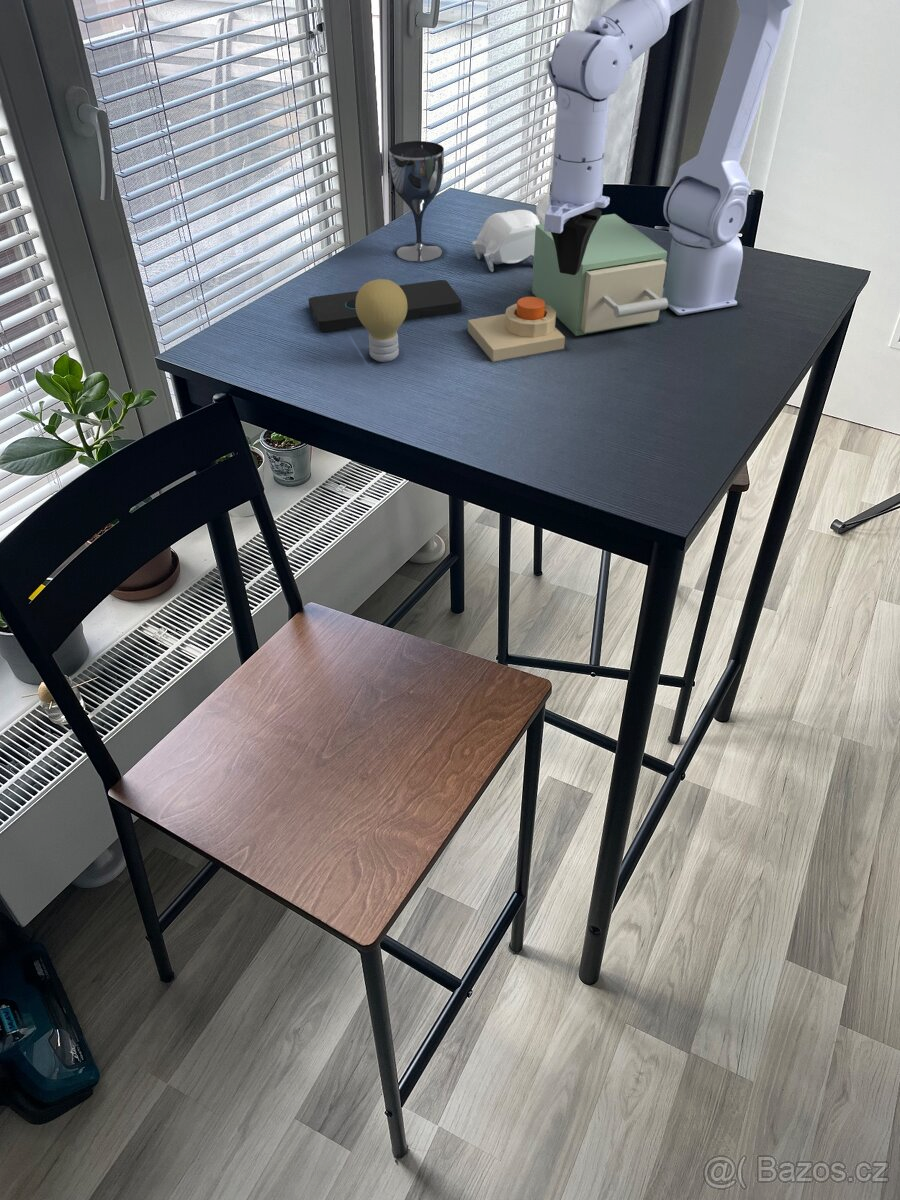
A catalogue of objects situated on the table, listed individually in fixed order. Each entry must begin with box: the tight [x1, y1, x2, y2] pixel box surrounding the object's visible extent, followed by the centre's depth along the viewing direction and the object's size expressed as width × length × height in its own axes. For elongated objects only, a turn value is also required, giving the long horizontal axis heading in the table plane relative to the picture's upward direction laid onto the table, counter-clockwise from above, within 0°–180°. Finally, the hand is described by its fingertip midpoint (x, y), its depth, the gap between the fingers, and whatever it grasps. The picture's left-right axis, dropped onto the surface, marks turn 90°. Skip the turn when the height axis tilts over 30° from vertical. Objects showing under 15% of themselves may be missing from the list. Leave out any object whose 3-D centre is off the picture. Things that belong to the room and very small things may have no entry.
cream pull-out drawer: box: [581, 260, 668, 333], centre depth 122 cm, size 18×11×8 cm, turn 20°
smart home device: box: [308, 279, 462, 333], centre depth 127 cm, size 8×2×20 cm
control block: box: [467, 303, 566, 362], centre depth 120 cm, size 10×9×4 cm
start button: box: [516, 296, 545, 320], centre depth 118 cm, size 4×4×2 cm
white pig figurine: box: [471, 194, 550, 273], centre depth 138 cm, size 8×8×15 cm
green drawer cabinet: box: [531, 213, 668, 337], centre depth 125 cm, size 15×12×10 cm
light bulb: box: [355, 278, 408, 363], centre depth 114 cm, size 6×6×10 cm
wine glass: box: [388, 140, 445, 263], centre depth 138 cm, size 8×8×15 cm
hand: (569, 272), depth 113 cm, fingers closed
